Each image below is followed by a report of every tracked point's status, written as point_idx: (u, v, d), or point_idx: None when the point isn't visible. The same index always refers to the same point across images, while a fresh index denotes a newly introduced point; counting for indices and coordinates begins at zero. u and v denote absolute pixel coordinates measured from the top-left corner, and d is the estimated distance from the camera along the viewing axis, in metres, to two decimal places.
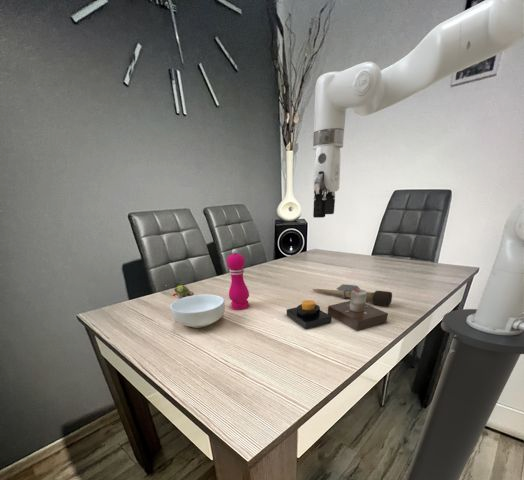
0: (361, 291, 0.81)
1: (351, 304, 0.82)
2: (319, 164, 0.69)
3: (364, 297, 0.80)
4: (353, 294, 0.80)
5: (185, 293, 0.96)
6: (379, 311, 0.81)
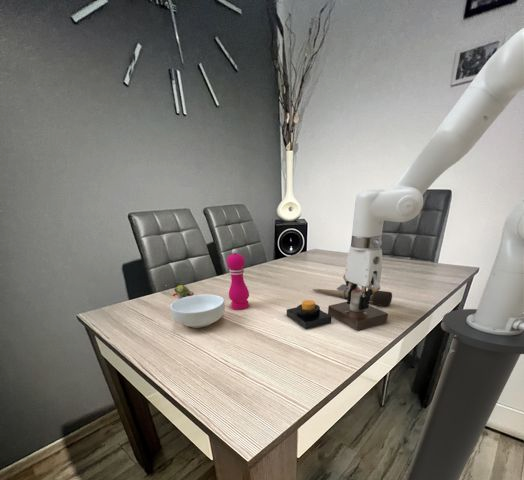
0: (361, 291, 0.81)
1: (351, 304, 0.82)
2: (374, 265, 0.72)
3: None
4: (353, 294, 0.80)
5: (185, 293, 0.96)
6: (379, 311, 0.81)
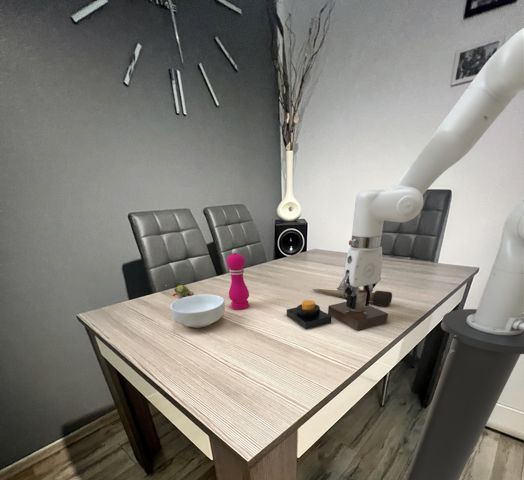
0: (360, 292, 0.80)
1: None
2: (347, 263, 0.75)
3: None
4: None
5: (185, 293, 0.96)
6: (379, 311, 0.81)
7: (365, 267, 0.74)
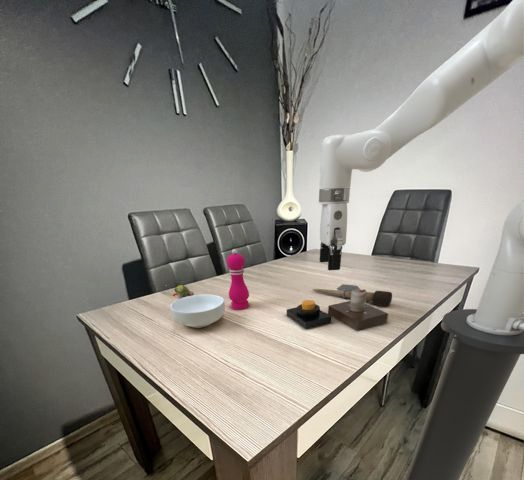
0: (360, 292, 0.80)
1: None
2: (335, 220, 0.67)
3: (353, 297, 0.80)
4: None
5: (185, 293, 0.96)
6: (379, 311, 0.81)
7: None
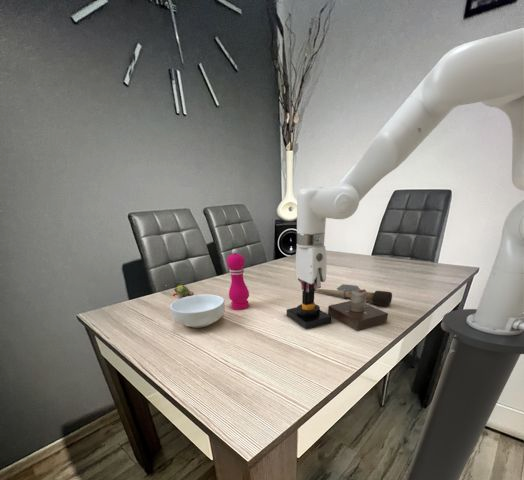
0: (360, 292, 0.80)
1: None
2: (317, 262, 0.73)
3: (353, 297, 0.80)
4: None
5: (185, 293, 0.96)
6: (379, 311, 0.81)
7: None
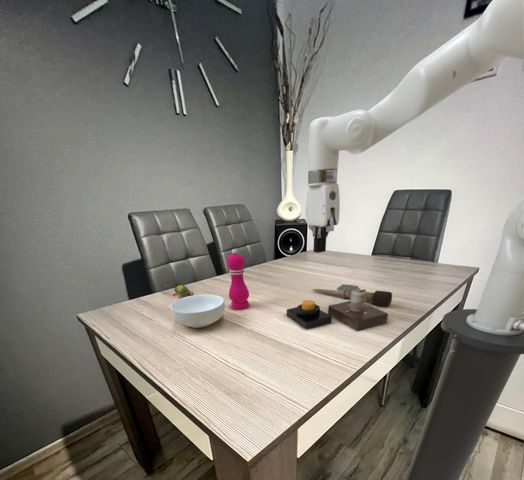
0: (360, 292, 0.80)
1: None
2: (330, 201, 0.70)
3: (353, 297, 0.80)
4: None
5: (185, 293, 0.96)
6: (379, 311, 0.81)
7: None
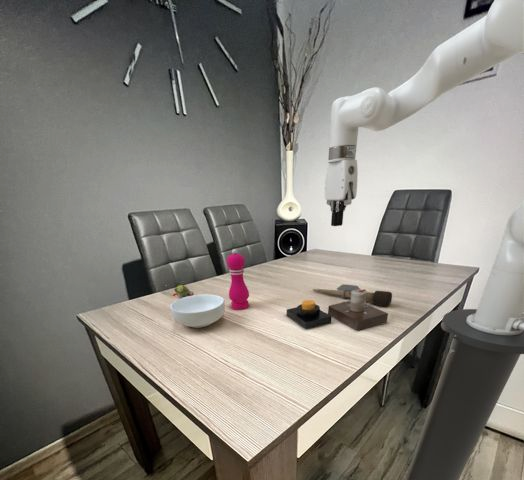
0: (360, 292, 0.80)
1: None
2: (349, 175, 0.76)
3: (353, 297, 0.80)
4: None
5: (185, 293, 0.96)
6: (379, 311, 0.81)
7: None
